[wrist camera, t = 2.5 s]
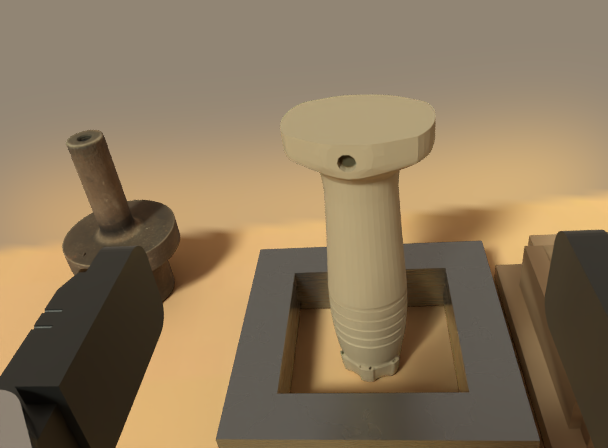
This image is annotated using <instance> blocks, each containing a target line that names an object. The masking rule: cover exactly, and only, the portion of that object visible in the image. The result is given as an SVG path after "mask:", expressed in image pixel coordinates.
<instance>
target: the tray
mask: <svg viewBox="0 0 608 448" xmlns="http://www.w3.org/2000/svg"><path fill="white" fill-rule="evenodd" d="M607 234H608V232H607ZM556 235H557V234H554V235H530V236H529V242H528V246H525V247H524V255H523V262H522V264H514V265H496V268H495V280H496V284H497V287H498V290H499V294H500V297H501V300H502V304H503V307H504V311H505V314H506V317H507V321H508V324H509V327H510V331H511V334H512V337H513V341H514V344H515V348H516V351H517V354H518V358H519V361H520V364H521V368H522V371H523V375H524V378H525V381H526V385H527V388H528V391H529V395H530V398H531V402H532V405H533V408H534V412H535V415H536V418H537V422H538V425H539V429H540V432H541V435H542V439H543V442H544V445H545V448H594V445H593V443H592V440H591V437H590V435H589V432H588V429H587V427H586V424H585V422H584V419H583V416H582V414H581V411H580V409H579V406H578V403H577V401H576V398H575V395H574V393H573V390H572V388H571V385H570V382H569V380H568V377H567V375H566V372H565V369H564V367H563V364H562V361H561V359H560V356H559V354H558V351H557V348H556V346H555V343H554V341H553V338H552V335H551V333H550V330H549V327H548V324H547V320H546V314H545V291H546V286H547V280H548V275H549V269H550V263H551V258H552V252H553V247H554V241H555V238H556Z"/></svg>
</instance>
